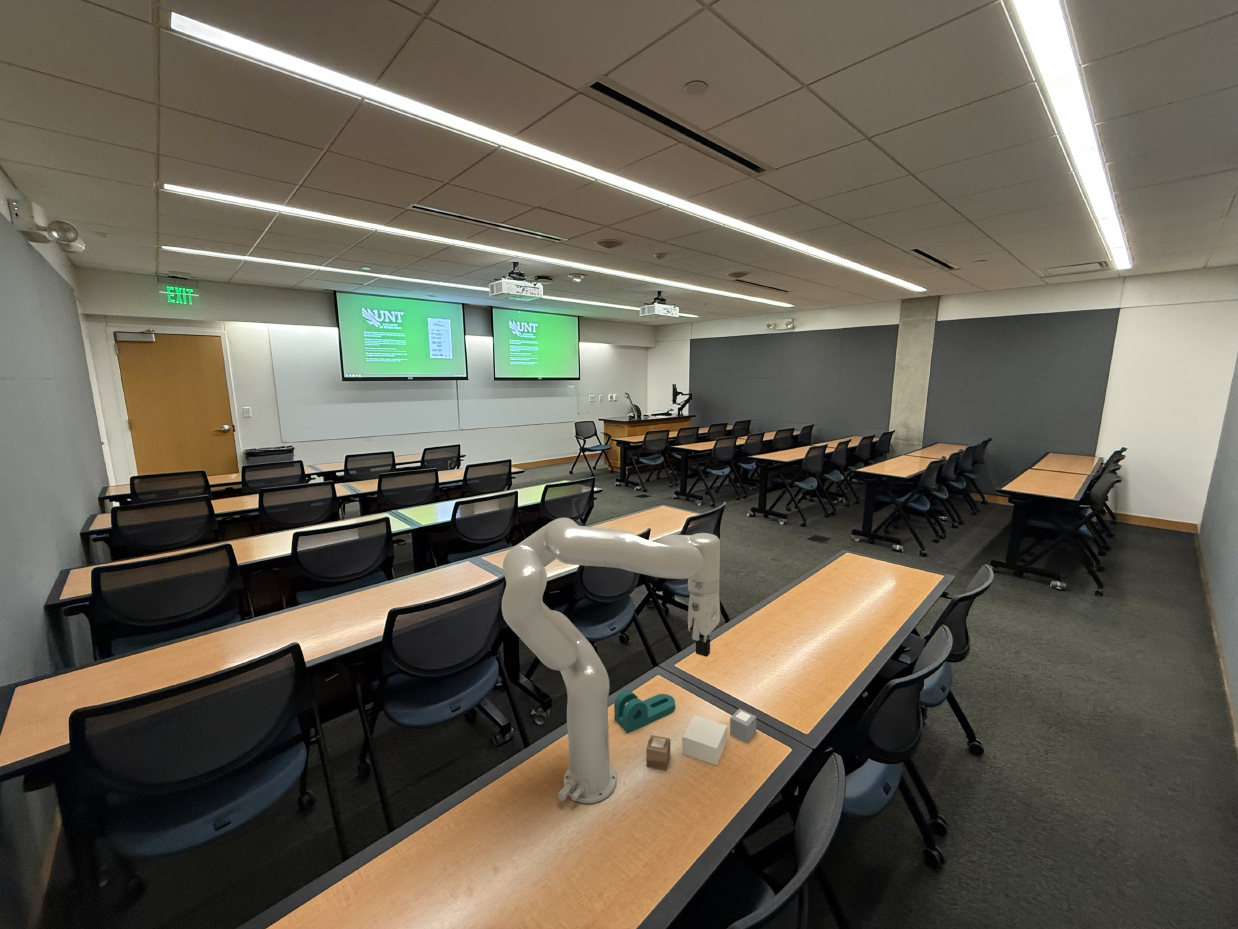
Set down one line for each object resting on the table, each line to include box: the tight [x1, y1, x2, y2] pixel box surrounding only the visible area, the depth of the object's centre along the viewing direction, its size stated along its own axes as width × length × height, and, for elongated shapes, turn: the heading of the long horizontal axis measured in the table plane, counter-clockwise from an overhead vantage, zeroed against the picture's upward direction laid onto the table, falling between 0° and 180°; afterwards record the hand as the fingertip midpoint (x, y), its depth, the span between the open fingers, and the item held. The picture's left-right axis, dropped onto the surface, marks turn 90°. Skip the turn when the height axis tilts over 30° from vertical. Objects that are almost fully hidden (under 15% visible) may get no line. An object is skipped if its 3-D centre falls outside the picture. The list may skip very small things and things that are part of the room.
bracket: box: [613, 689, 676, 735], centre depth 136 cm, size 18×7×8 cm, turn 121°
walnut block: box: [645, 734, 672, 772], centre depth 119 cm, size 5×5×5 cm
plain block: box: [681, 714, 728, 766], centre depth 123 cm, size 9×9×5 cm
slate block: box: [729, 708, 757, 744], centre depth 128 cm, size 5×5×5 cm
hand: (702, 653), depth 119 cm, fingers closed
